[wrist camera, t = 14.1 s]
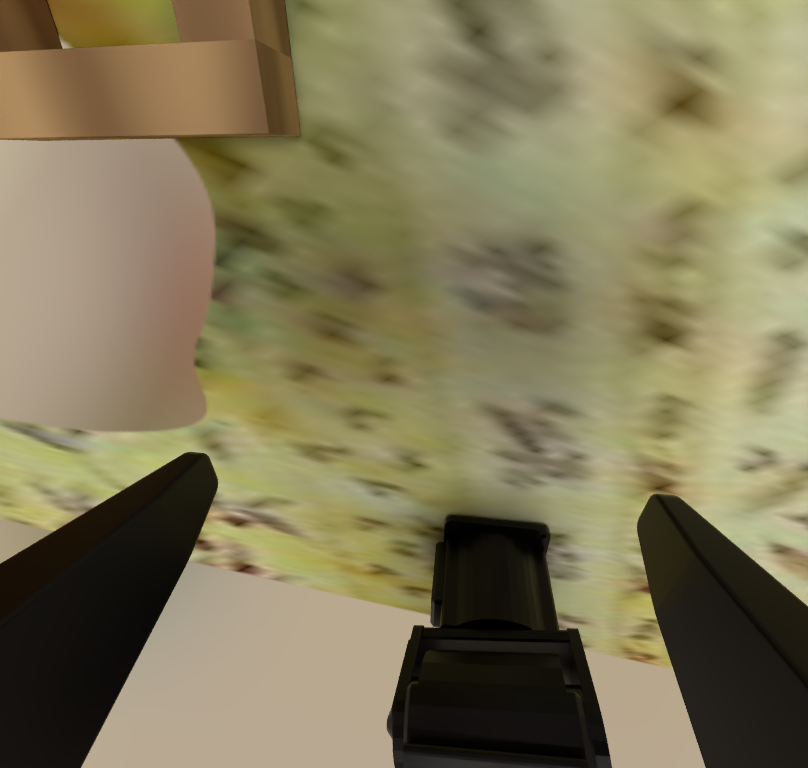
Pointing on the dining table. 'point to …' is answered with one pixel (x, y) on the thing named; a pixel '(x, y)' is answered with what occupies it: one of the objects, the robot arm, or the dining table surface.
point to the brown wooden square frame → (150, 77)
